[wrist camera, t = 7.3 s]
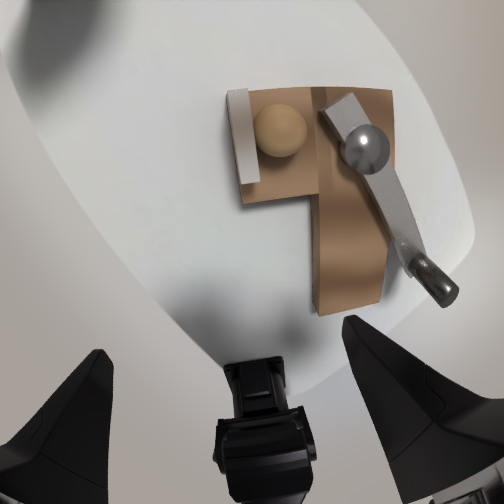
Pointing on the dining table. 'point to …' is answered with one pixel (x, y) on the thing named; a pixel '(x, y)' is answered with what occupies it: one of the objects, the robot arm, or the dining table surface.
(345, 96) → the lever
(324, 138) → the board
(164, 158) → the dining table surface
